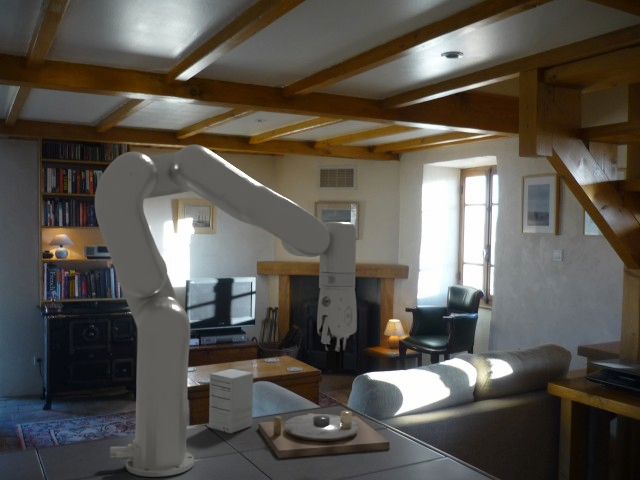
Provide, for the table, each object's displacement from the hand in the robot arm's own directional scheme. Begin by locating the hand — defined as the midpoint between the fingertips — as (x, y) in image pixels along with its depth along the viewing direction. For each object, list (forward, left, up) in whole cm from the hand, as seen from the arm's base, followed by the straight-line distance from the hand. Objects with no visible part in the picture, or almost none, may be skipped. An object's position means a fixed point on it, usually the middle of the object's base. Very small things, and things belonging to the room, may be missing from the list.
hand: (335, 368), depth 132 cm
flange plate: (0, +9, -15) cm, 18 cm away
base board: (0, +9, -17) cm, 19 cm away
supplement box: (-18, +22, -17) cm, 33 cm away
